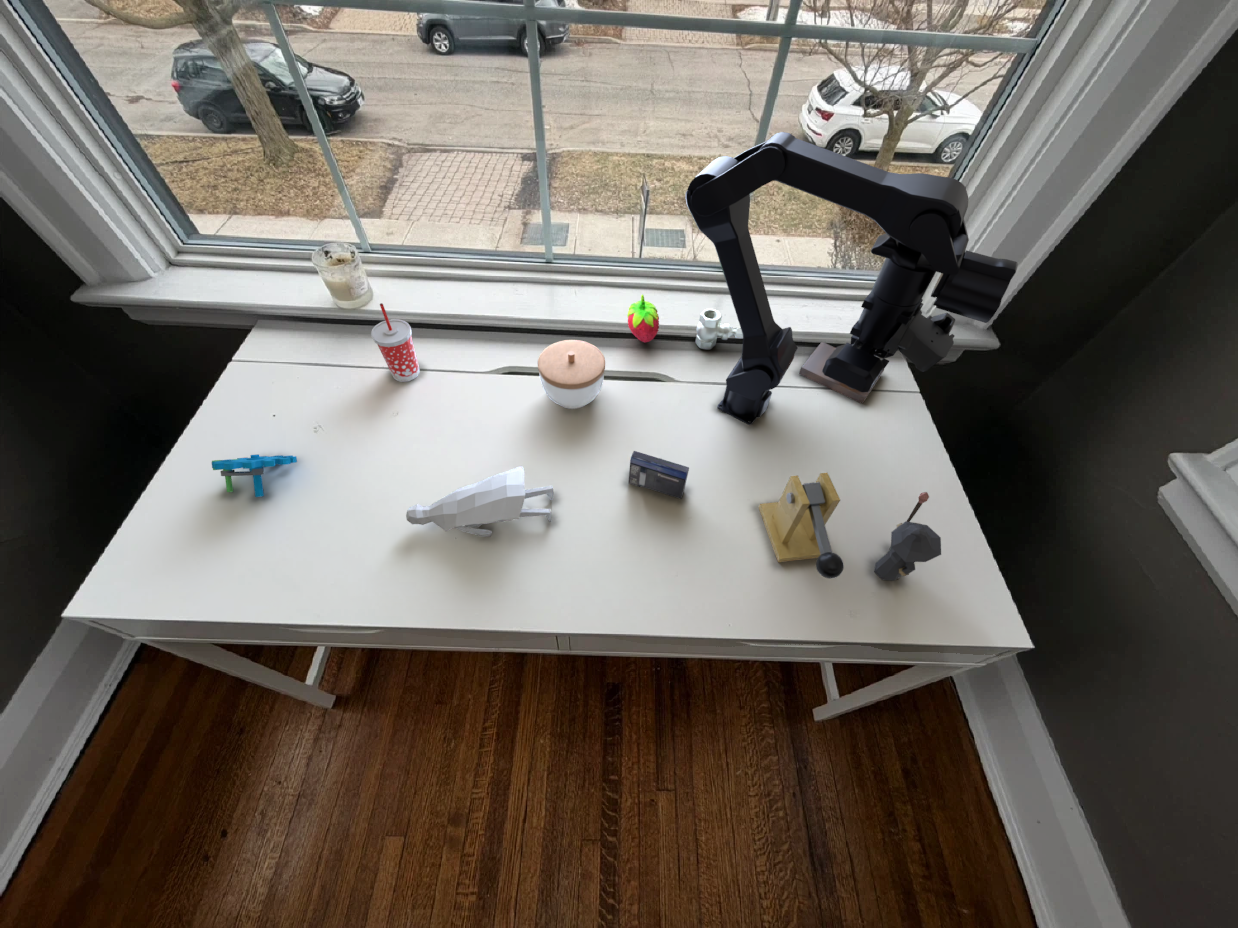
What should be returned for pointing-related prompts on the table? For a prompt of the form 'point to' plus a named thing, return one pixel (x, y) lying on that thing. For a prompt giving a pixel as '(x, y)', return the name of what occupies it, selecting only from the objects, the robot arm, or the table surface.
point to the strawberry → (643, 320)
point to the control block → (814, 373)
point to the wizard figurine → (909, 547)
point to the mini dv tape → (657, 474)
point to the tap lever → (822, 534)
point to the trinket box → (571, 372)
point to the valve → (713, 329)
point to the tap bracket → (796, 520)
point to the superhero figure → (482, 504)
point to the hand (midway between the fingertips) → (851, 386)
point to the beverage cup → (396, 347)
